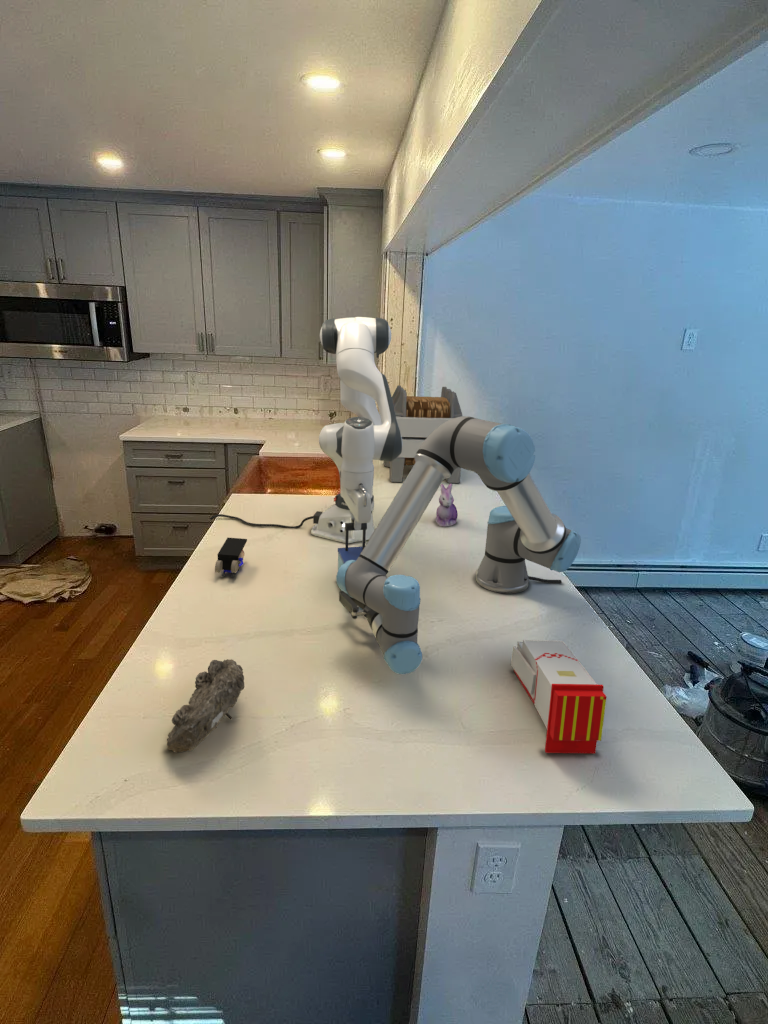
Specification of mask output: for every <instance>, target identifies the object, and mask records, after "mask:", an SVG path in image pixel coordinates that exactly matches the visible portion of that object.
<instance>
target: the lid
mask: <svg viewBox="0 0 768 1024" xmlns="http://www.w3.org/2000/svg"><path fill="white" fill-rule="evenodd" d="M353 530H355V529H354V523H345V531H346V540H345V543H344V545H345V546H344V547H337V554H338V553H339V556H340V558H341V560H342V562H343V564H344V563H345V562H347V561H349V560H355V561H356V560H357V559H358V557H359V556H360V554H361V552H362V550H363V549H364V547H365V546H366V540H365V539H366V530H367V523H361V529H360V530H363V541H361V542H362V545H361V546H349V543H348V534H349V531H353Z"/></svg>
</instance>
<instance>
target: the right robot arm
mask: <svg viewBox="0 0 768 1024" xmlns="http://www.w3.org/2000/svg"><path fill="white" fill-rule="evenodd" d="M535 452H536V446H535V443H534V439H533V438H532V436H531V435H530V433H529V432H528V431H526V430H525V429H523V428H522V427H517V426H514V425H513V424H511V423H510V424H509V423H503V422H502V423H501V422H496V421H491V420H485V419H481V418H477V417H473V416H469V415H462V417H456V418H453V419H451V420H449V421H447V422H445V423H443V424H442V425H440V426H439V427H438V428H437V429H436V430H434V431H433V432H432V433H431V434H430V435H429V436H428V437H427V438H426V440H425V441H424V442H423V443H422V445H421V446H420V448H419V449H418V451H417V453H416V454H415V456H414V458H415V464H414V466H412V467H411V469H410V471H409V473H408V474H407V476H406V478H405V479H404V481H403V482H402V484H401V486H400V487H399V489H398V491H397V493H396V494H395V495H394V497H393V499H392V501H391V502H390V504H389V505H388V507H387V509H386V511H385V512H384V514H383V515H382V517H381V518H380V521H379V522H378V523H377V526H376V527H375V531H374V532H373V534H372V536H371V537H370V539H369V540H367V542H366V543H365V547H364V549H363V550H362V552H361V554H360V556H359V557H358V559H357V560H356V561H355V560H349V561H347V562H345V563H344V564H343V565H341V567H340V568H339V570H338V569H337V572H336V575H335V576H336V577H335V580H336V581H335V582H336V585H337V587H338V588H339V589H340V591H339V592H338V601H339V603H340V604H341V605H342V606H343V607H344V608H345V609H346V610H347V612H349V613H350V614H351V618H352V619H355V620H356V619H358V616H363V617H364V618H366V619H367V622H368V623H367V624H368V625H369V627H370V629H371V631H372V634H373V635H374V637H375V640H376V643H377V644H378V646H379V647H378V648H379V649H380V651H381V654H382V657H383V659H384V661H385V663H386V665H387V666H388V668H389V669H390V670H391V671H392V672H394V673H395V674H397V675H409V674H411V673H413V672H415V671H416V670H417V669H418V668H419V667H420V666H421V664H422V662H423V652H422V650H421V646H420V645H419V644H418V636H419V635H418V634H419V618H420V617H419V615H420V605H421V601H422V599H421V585H420V582H419V581H418V580H417V579H416V578H414V577H413V576H410V575H405V574H394V575H391V576H388V577H387V575H388V574H389V571H390V570H391V568H392V566H393V565H394V563H395V561H396V560H397V558H398V556H399V555H400V553H401V552H402V550H403V548H404V546H405V545H406V543H407V542H408V539H409V538H410V536H411V534H412V533H413V531H414V529H415V528H416V526H417V525H418V523H419V521H420V519H421V518H422V516H423V515H424V513H425V511H426V510H427V508H428V506H429V504H430V503H431V501H432V499H433V498H434V496H435V495H436V493H437V491H438V490H439V488H440V487H441V484H443V481H444V480H446V478H450V476H451V475H452V473H453V471H454V470H455V469H456V468H458V467H460V468H461V469H463V470H467V471H470V472H473V473H475V474H477V475H478V477H479V479H480V480H481V481H482V483H483V484H484V486H485V487H486V488H487V489H488V490H491V491H493V492H496V493H497V494H498V495H499V498H500V499H501V500H502V502H503V503H504V505H500V506H496V507H493V508H492V509H491V510H490V512H489V515H488V519H487V520H488V521H487V529H486V538H485V547H484V555H483V557H482V559H481V561H480V563H479V565H478V568H477V569H476V571H475V581H476V583H477V584H478V585H479V586H480V587H482V588H484V589H486V590H488V591H491V592H494V593H499V594H518V593H521V592H524V591H525V590H527V588H528V587H529V582H530V581H535V582H539V583H546V584H562V579H544V578H541V577H536V576H530V575H529V574H528V569H527V564H526V560H527V561H529V562H531V563H534V564H536V565H539V566H542V567H544V568H546V569H549V570H550V571H555V572H558V573H564V572H566V571H567V570H568V569H570V567H571V566H572V565H573V563H574V561H575V560H576V558H577V556H578V554H579V552H580V548H581V543H582V542H581V541H582V539H581V538H582V537H581V535H580V533H579V532H577V531H575V530H574V529H569V528H567V527H566V525H565V523H564V521H563V520H562V519H561V518H560V516H558V515H557V514H554V513H552V512H551V510H550V508H549V507H548V504H547V503H546V501H545V499H544V497H543V495H542V493H541V492H540V491H541V490H539V487H538V486H537V484H536V482H535V480H534V479H533V476H532V475H531V471H532V469H533V467H534V463H535V460H536V455H535ZM341 590H342V591H341ZM359 607H360V608H361V609H362V610H361V609H360V608H359Z"/></svg>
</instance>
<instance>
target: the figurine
mask: <svg viewBox="0 0 768 1024" xmlns="http://www.w3.org/2000/svg"><path fill="white" fill-rule="evenodd" d="M452 489H453V483H449V484H448V485H447V487H445V485H444V484H443V483H441V484H440V494H439V497H438V503H439V506H438V507H437V508H436V513H435V515H436V517H435V521H434V522H435V523H436V524H437V526H440V527H450V526H454V525H455V524H457V520H458V517H459V516H458V514H459V513H458V510H457V507H456V505H455V504H454V502H455V498H454V495H453V493H452Z"/></svg>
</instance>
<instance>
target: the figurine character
mask: <svg viewBox="0 0 768 1024" xmlns="http://www.w3.org/2000/svg"><path fill="white" fill-rule="evenodd" d="M247 542H248V538H240V537H226V539H225V541H224V543H223V544H222V546H221V547H220V549H219V551H218V552H217V560H216V562H215V564H214V572H215V573H221V577H222V578H224V577H225V576H226V574H227V573H230V574H231V573H232V574H231V578H234V577H235V575H236V573H237V572H239V571H240V567H242V566H243V565H244V564H245V562H244V558H245V551H244V547H245V546H246V544H247Z"/></svg>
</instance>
